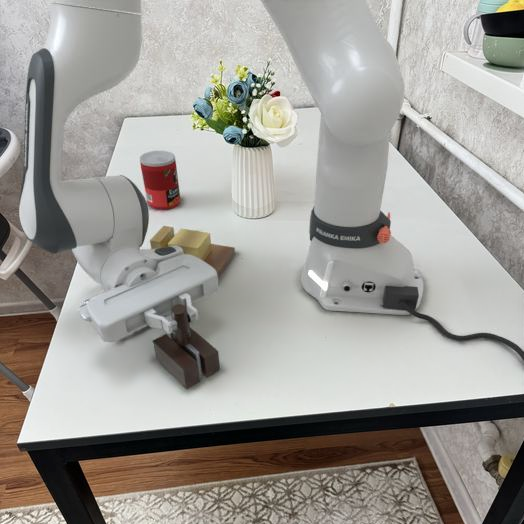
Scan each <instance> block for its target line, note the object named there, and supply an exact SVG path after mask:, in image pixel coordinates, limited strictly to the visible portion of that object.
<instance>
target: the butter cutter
mask: <svg viewBox="0 0 524 524" xmlns="http://www.w3.org/2000/svg"><path fill="white" fill-rule="evenodd" d="M171 313H172V314H171V316H172V317H173V319H175V320H176V321H177V327H178V330H176V331H174V332H172V333H170V334H169V335H170V338H171V339H172V340H174V341H175V342H176V343H177V344H178V345H179V346H180V347H181V348H182V349H183V350H184V351H186V352H187V353H188V354H189V355H190V356H191V357H192V358H193V359H194V360H195V361H197V362H198V369H199V376H200V378H202V377H203V373H202V370H201V363H200V355H199V352H198V351H197V350H196V349H195V348H194V347H193V346H192V345H191V344H189V343H190V342H191V334H190V327H191V326H190V323H189V320H188V313H187V307H186V306H185V305H182V304H177V305H174V306H173V307H172V308H171ZM189 326H190V327H189Z"/></svg>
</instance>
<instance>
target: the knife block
mask: <svg viewBox="0 0 524 524" xmlns="http://www.w3.org/2000/svg"><path fill="white" fill-rule="evenodd" d="M189 327H190V334H191V342H190V343H189V344H191V345H192V346H193V347H194V348H195V349H196V350H197V351H198V352H199V355H200V363H201V370H202V375H203V376H204V377H206V378H209V377H211V376H212V375H214V374H216V373H217V372H219V371H221V366H220V355H219V350H217V348H215V347H214V346H213V345H212V344H211V343H210V342H208V341H207V340H206V339H205V338H204V337H203V336H202V335H200V334H199V333H198V332H197V331H196V330H195V329H193V328H192V327H191V326H190V325H189ZM152 345H153V350H154V355H155V359H156V361H157V362H158V363H159V364H160V365H161V366H163V368H164V369H165V370H167V372H168V373H169V374H170V375H171V376H172V377H173V378H175V379H176V381H177V382H178V383H179V384H180V385H182V387H184V389H186V390H189V389H190V388H192V387H194V386H195V385H197V384H199V383H200V382H201V377H200V376H199V369H198V362H197V361H195V360H194V359H193V358H192V357H191V356H190V355H189V354H188V353H187V352H186V351H184V350H183V349H182V348H181V347H180V346H179V345H178V344H177V343H176V342H175V341H174V340H172V339H171V336H169V334H168V333H165V334H163V335H161V336H159V337H156V338H155V339H153V340H152Z"/></svg>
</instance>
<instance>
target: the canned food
mask: <svg viewBox="0 0 524 524" xmlns="http://www.w3.org/2000/svg"><path fill="white" fill-rule="evenodd" d="M139 163H140V169H141V176H142V181H143V185H144V191H145V196H146V202H147V205H148V207H150V208H152V209H154V210H159V211H165V210H166V211H167V210H171V209H174V208H176V207H178V206H179V205H180V203H181V192H180V184H179V176H178V170H177V169H178V168H177V161H176V156H175V154H174V153H173V152H170V151H166V150H152V151H147V152H144V153H142V154H141V155H140V157H139Z"/></svg>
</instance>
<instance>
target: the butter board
mask: <svg viewBox="0 0 524 524" xmlns="http://www.w3.org/2000/svg"><path fill="white" fill-rule="evenodd" d="M149 244H150V249H157V248H164V247H169V246H175V245H176V246H179V247H181V248H182V249H183V253H184V254H189V255H193V256H195V257H197V258H199V259H201V260H203V261H204V262H206V263H207V264H209V265H210V266H212V267H213V268H214V269H215V270H216V272H217V275H218V280H219V279H220V277H221V276H222V274H223V273H224V271H225V270H226V268H227V267H228V265H229V264H230V263H231V261H232V259H233V258H234V257H235V255H236V248H235V247H233V246H229V245H220V244H215V243H212V239H211V233H210V232H207V231H200V230H194V229H188V228H180V229H179V230H178V231H177V232H176V234H175V229H174V226H168V225H163V226H162V227H161V228H160V229H159V230H158V231H157V232H156V233H155V234H154V235H153V236H152V237H151V238H150V239H149Z"/></svg>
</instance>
